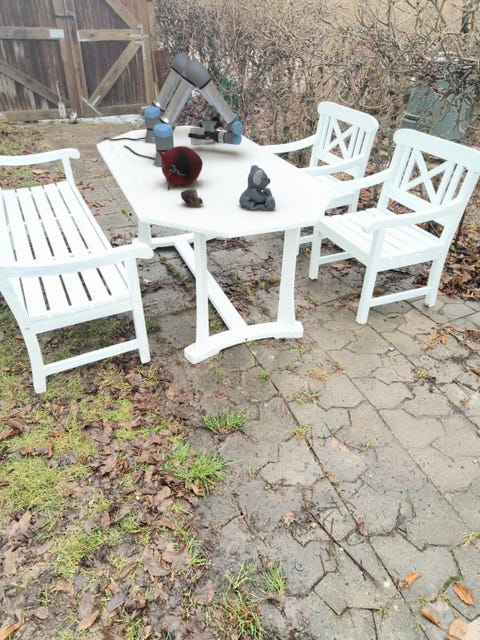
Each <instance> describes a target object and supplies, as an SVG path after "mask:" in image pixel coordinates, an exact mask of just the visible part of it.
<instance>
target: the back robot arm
mask: <svg viewBox="0 0 480 640" xmlns="http://www.w3.org/2000/svg"><path fill="white" fill-rule="evenodd" d="M190 60H191V58H190V57H189V55H188V54H186V53H185V52H179V53H178V54H176V55H175V56H174V58H173V61H172V63H171V65H170V72H169V73H168V76H167V77H166V80H165V81H164V84H163V85H162V87H161V90H160V91H159V93H158V95H157V97H156V98H155V99H154V100H153V101H152V102H151V104H150V106H147V107H145V108H144V112H143V114H144V120H145V121H144V122H145V128H146V133H145V137H139V138H131V137H119V138H110V137H103V139H102V141H105V140H109V141H120V140H130V141H140V140H145V142H146V143H149V144H155V137H154V134H153V127H154V125H155V124H156V123H157V122H158V120H159V118H160V117H161V116H164V114H165V112H166V110H167V105H168V104H169V103H170V102H169V101H171V99H172V97H173V95H174V93H175V91H176V89H177V88H178V86H179V84H180V82H181V75H182V73H183V71H184V67H185V65H186V63H187V62H188V61H190ZM195 90H197V91H198V93H199V94H200V95H201V96H202V97H203V98H204V99H205V101H206V102H207V103H208V104H209V106H211V107H212V108H213V110H214V116H212V117H211V118H210V119H209V121H214V122H217V124H216V125H215V129H217V130H218V129H219V128H223V127H224V124H225V123H226V122H225V121H224V119H223V118H222V117H221V115H220V114H219V113H218V111H217V110H216V109H215V107H214V106H213V104H212V103H211V102H210V100H209V99H208V98H207V96H206V95H205V94H204V92H203V91H202V90H199V88H198V87H197V88H195ZM222 97H223V99H224V100H225V97H224V96H222ZM205 121H208V120H203V121H200V122H199V123H198V125H199V127H201V128H202V122H205Z"/></svg>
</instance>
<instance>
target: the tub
mask: <svg viewBox="0 0 480 640" xmlns="http://www.w3.org/2000/svg"><path fill="white" fill-rule="evenodd" d="M204 121H205V122H203V121H201V122H202V128H204V132H205V131H212V132H215V131H218V128H217V129H215V125H216V124H217V122H214V121H210V120H207V121H206V120H204ZM204 135H205V134H204Z"/></svg>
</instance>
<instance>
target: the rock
mask: <svg viewBox="0 0 480 640" xmlns="http://www.w3.org/2000/svg"><path fill="white" fill-rule="evenodd" d="M180 197H181V200H182V201H183V202H184V203H185V205H187V206H189V207H191V206H192V207H193V206H201V205H203V204H204V202H203V199H202V197H199V195H198V190H197V189H196V188H188V189H185V190H181V192H180Z"/></svg>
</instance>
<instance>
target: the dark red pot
mask: <svg viewBox="0 0 480 640" xmlns="http://www.w3.org/2000/svg"><path fill="white" fill-rule="evenodd" d="M158 152H159V154H160V155H161V157H162V158H161V160H162V167H161V173H162V174H163V176H164V178H165V180H166V182H167V190H169V191H170V188H171V185H172V186H177V187H178V186H180V187H183V186H188V185H191V184H193V183H194V182H195V181H196V180H198V177H199V176H200V174H201V172H202V169H203V159H202V157H201V156H200V155H199V154H198V153H197V152H196V151H195V150H193V149H192V148H191V147H188V146H183V145H178V146H174V148H172V149H170V150H168V151H166V152H165V153H164V154H162V152H161V151H160V150H158Z"/></svg>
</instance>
